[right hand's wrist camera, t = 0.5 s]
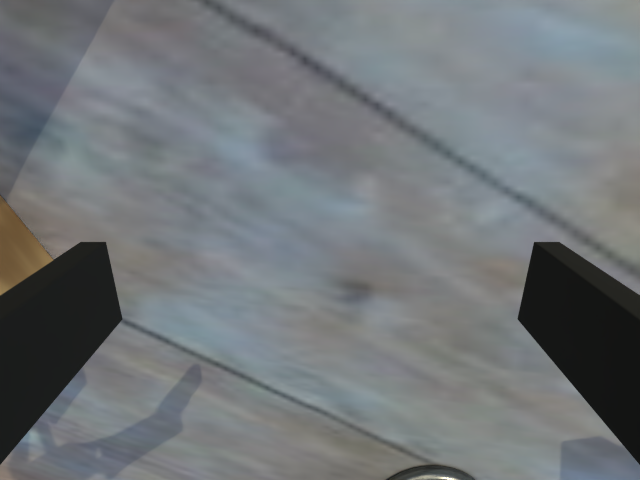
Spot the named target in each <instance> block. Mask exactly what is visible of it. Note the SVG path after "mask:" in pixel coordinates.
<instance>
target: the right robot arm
mask: <svg viewBox="0 0 640 480" xmlns="http://www.w3.org/2000/svg"><path fill="white" fill-rule="evenodd" d="M121 320H122V315H121V311H120V306H119V301H118V297H117V292H116V287H115V283H114V278H113V273H112V269H111V264H110V259H109V255H108V250H107V245H106V242H80V243H79V244H77V245H76V246H74V247H73V248H71V249H70V250H68V251H67V252H65V253H64V254H62V255H61V256H59V257H58V258H56V259H55V260H53V261H52V262H50V263H48V264H47V265H45V266H44V267H42V268H41V269H39V270H38V271H36V272H35V273H33V274H32V275H30V276H29V277H27V278H26V279H24V280H23V281H21V282H20V283H18V284H17V285H15V286H14V287H12V288H11V289H9V290H8V291H6V292H5V293H3V294H2V295H0V464H1V463H2V462H3V461H4V460H5V458H6V457H7V456H8V455H9V454H10V452H11V451H12V450H13V449H14V448H15V446H16V445H17V444H18V443H19V442H20V441H21V439H22V438H23V437H24V436H25V435H26V433H27V432H28V431H29V430H30V429H31V427H32V426H33V425H34V424H35V423H36V421H37V420H38V419H39V418H40V417H41V415H42V414H43V413H44V412H45V411H46V410H47V408H48V407H49V406H50V405H51V404H52V402H53V401H54V400H55V399H56V398H57V396H58V395H59V394H60V393H61V392H62V390H63V389H64V388H65V387H66V386H67V385H68V383H69V382H70V381H71V380H72V379H73V377H74V376H75V375H76V374H77V373H78V371H79V370H80V369H81V368H82V367H83V365H84V364H85V363H86V362H87V361H88V359H89V358H90V357H91V356H92V355H93V354H94V352H95V351H96V350H97V349H98V348H99V346H100V345H101V344H102V343H103V342H104V340H105V339H106V338H107V337H108V336H109V334H110V333H111V332H112V331H113V330H114V329H115V327H116V326H117V325H118V324H119V323H120V321H121ZM518 320H519V321H520V323H521V324H522V325H523V326H524V327H525V329H526V330H527V331H528V332H529V333H530V334H531V336H532V337H533V338H534V339H535V340H536V342H537V343H538V344H539V345H540V346H541V348H542V349H543V350H544V351H545V352H546V354H547V355H548V356H549V357H550V358H551V359H552V361H553V362H554V363H555V364H556V365H557V367H558V368H559V369H560V370H561V371H562V373H563V374H564V375H565V376H566V377H567V379H568V380H569V381H570V382H571V383H572V385H573V386H574V387H575V388H576V389H577V390H578V392H579V393H580V394H581V395H582V396H583V398H584V399H585V400H586V401H587V402H588V404H589V405H590V406H591V407H592V408H593V410H594V411H595V412H596V413H597V414H598V415H599V417H600V418H601V419H602V420H603V421H604V423H605V424H606V425H607V426H608V427H609V429H610V430H611V431H612V432H613V433H614V435H615V436H616V437H617V438H618V439H619V441H620V442H621V443H622V444H623V445H624V446H625V448H626V449H627V450H628V451H629V452H630V454H631V455H632V456H633V457H634V458H635V460H636V461H637V462H638V463H639V464H640V295H638V294H637V293H635V292H634V291H632V290H631V289H629V288H628V287H626V286H625V285H623V284H622V283H620V282H619V281H617V280H616V279H614V278H613V277H611V276H610V275H608V274H607V273H605V272H604V271H602V270H601V269H599V268H598V267H596V266H595V265H593V264H592V263H590V262H588V261H587V260H585V259H584V258H582V257H581V256H579V255H578V254H576V253H575V252H573V251H572V250H570V249H569V248H567V247H566V246H564V245H563V244H561V243H560V242H534V245H533V250H532V255H531V259H530V264H529V269H528V273H527V278H526V283H525V287H524V292H523V297H522V301H521V306H520V311H519V315H518ZM389 480H475V479H474V478H472V477H471V476H470V475H468V474H466V473H465V472H463V471H460V470H457V469H454V468H450V467H445V466H422V467H417V468H412V469H409V470H406V471H403V472H401V473H399V474H397V475H395V476H393V477H392V478H390V479H389Z"/></svg>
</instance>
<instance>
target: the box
mask: <svg viewBox="0 0 640 480" xmlns="http://www.w3.org/2000/svg"><path fill="white" fill-rule="evenodd" d="M52 261H53V259H52V258H51V257H50V255H49V254H48V253H47V252H46V250H45V249H44V248H43V247H42V246H41V244H40V243H39V242H38V241H37V239H36V238H35V237H34V236H33V235H32V233H31V232H30V231H29V230H28V228H27V227H26V226H25V225H24V224H23V222H22V221H21V220H20V219H19V217H18V216H17V215H16V214H15V213H14V211H13V210H12V209H11V208H10V206H9V205H8V204H7V203H6V202H5V200H4V199H3V198H2V197H1V195H0V295H2V294H3V293H5V292H6V291H8V290H9V289H11V288H12V287H14V286H15V285H17V284H18V283H20V282H21V281H23V280H24V279H26V278H27V277H29V276H30V275H32V274H33V273H35V272H36V271H38V270H39V269H41V268H42V267H44V266H45V265H47V264H48V263H50V262H52Z"/></svg>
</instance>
